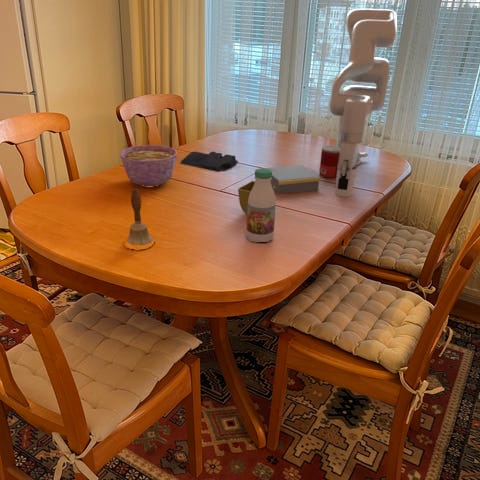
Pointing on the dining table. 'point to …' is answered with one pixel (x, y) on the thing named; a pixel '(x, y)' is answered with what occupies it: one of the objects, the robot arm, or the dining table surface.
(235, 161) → the dark slate chunk
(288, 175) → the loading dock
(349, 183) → the white cup
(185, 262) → the dining table surface
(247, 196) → the flower pot
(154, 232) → the dining table surface
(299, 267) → the dining table surface
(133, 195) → the hand bell
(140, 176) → the bowl of food
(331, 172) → the canned food
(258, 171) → the milk bottle
